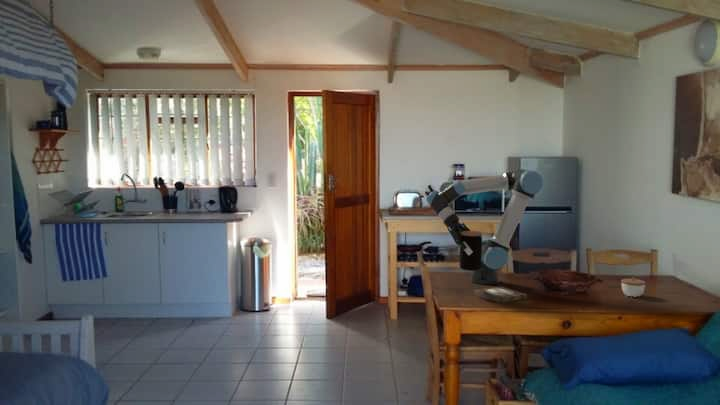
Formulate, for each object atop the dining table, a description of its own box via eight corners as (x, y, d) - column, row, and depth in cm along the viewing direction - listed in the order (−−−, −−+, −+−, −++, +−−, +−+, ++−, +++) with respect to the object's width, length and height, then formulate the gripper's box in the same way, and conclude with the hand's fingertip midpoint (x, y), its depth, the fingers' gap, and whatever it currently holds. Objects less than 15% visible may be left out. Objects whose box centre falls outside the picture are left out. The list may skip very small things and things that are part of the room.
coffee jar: (482, 267, 294) (484, 231, 292) (479, 271, 285) (480, 234, 283) (461, 265, 298) (462, 230, 296) (457, 269, 288) (458, 233, 286)
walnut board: (501, 290, 301) (501, 286, 301) (526, 298, 285) (526, 294, 285) (473, 294, 292) (473, 289, 292) (498, 302, 276) (498, 298, 276)
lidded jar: (621, 297, 290) (622, 278, 289) (619, 292, 300) (621, 274, 299) (645, 299, 286) (646, 280, 285) (643, 294, 296) (644, 276, 295)
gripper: (455, 220, 307) (481, 253, 300) (432, 224, 289) (459, 260, 281) (464, 210, 304) (491, 244, 296) (442, 215, 285) (470, 250, 278)
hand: (476, 252), depth 289 cm, fingers closed on coffee jar, 11 cm apart
